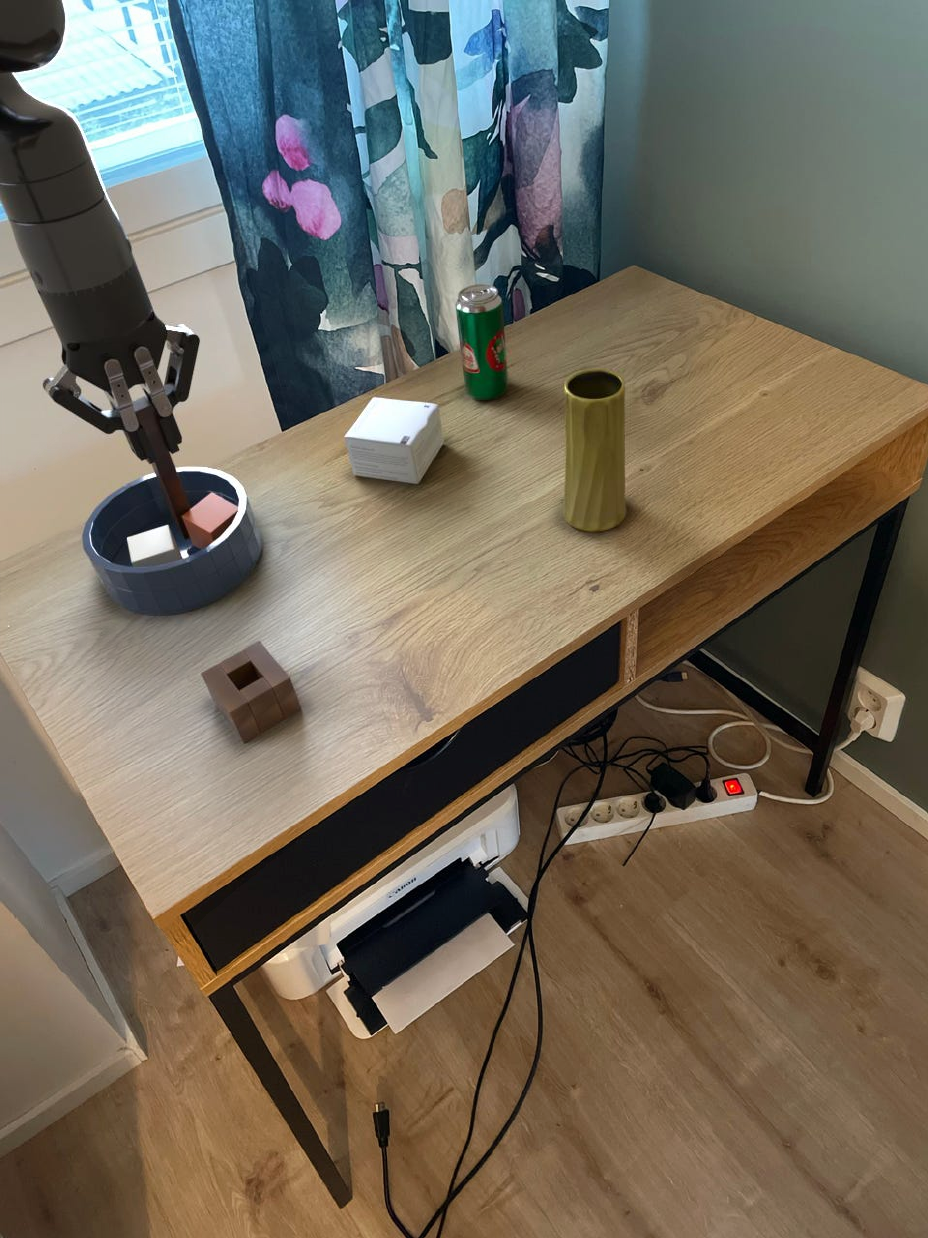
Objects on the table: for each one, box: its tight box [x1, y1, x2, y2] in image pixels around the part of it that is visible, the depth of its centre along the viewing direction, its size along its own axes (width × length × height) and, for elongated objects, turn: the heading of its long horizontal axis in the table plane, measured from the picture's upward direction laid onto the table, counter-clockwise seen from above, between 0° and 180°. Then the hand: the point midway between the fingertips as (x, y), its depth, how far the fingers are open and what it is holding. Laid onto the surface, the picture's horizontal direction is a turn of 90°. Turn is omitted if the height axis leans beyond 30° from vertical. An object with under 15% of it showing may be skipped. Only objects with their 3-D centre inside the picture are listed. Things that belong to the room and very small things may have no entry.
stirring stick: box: [132, 395, 190, 540], centre depth 83 cm, size 2×2×16 cm
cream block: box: [127, 525, 183, 567], centre depth 85 cm, size 4×4×4 cm
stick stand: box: [200, 640, 302, 744], centre depth 73 cm, size 5×5×4 cm
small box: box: [344, 396, 445, 485], centre depth 95 cm, size 8×8×5 cm
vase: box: [562, 368, 627, 533], centre depth 82 cm, size 6×6×14 cm
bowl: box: [81, 466, 263, 616], centre depth 87 cm, size 16×16×6 cm
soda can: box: [455, 283, 509, 401], centre depth 100 cm, size 5×5×12 cm
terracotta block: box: [182, 493, 238, 550], centre depth 87 cm, size 4×4×4 cm
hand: (160, 453), depth 80 cm, fingers closed on stirring stick
